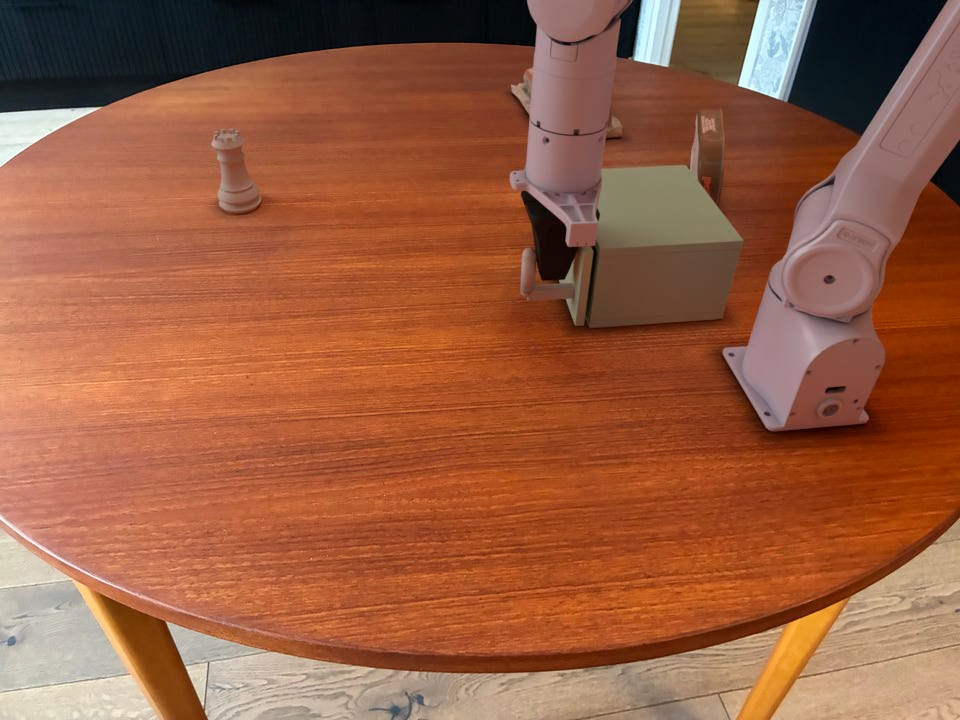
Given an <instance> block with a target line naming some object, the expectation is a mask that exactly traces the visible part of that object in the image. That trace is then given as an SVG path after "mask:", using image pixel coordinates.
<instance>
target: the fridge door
mask: <svg viewBox="0 0 960 720" xmlns="http://www.w3.org/2000/svg"><path fill="white" fill-rule="evenodd" d="M592 259H593V250H592V248H591V246H582V247H579V249H578V251H577V253H576V255H575V257H574V260H573V262H572V265H571V267H570V270H569V272H568V274H567V276H566V278H565V279H564V280H558V282H559V283H544V284H542V283H541V284H536V273H537V262H536V260H537V253H536V251H535V248H533V247H526V248H524V250H523V251H522V254H521V267H520V268H521V270H520V286H519V287H520V288H519V293H520V295H521V296H522V297H524V298H526V300H527V301H528V302H531V301H532V302H534V301H551V300H565V301H566V304H567V307H568V310H569V312H570V315H571V318H572V321H573V324H574V326H575V327H579V326H585V321H586V317H585V313H586V305H587V298H588V290H589V282H590V275H591V267H592Z"/></svg>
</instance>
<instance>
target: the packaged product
mask: <svg viewBox="0 0 960 720" xmlns="http://www.w3.org/2000/svg"><path fill="white" fill-rule="evenodd" d="M532 77H533V66H531V67H529V68H527V69H526V70H525V71H524V73H523V76H522V78H523V82H519V83H518V84H516V85H515V84H510V87H511V93H512V94H513V95H514V96H515V97H517V99H518V100H519V102H520V103H521V104H522V106H523V107H524V109H525V111H526V112H527V114H528V115H529V116H530V104H531V90H532ZM612 110H613V109H612V104H610V111H609V118H608V126H607V133H606V139H607V138H619V137H623V130H624V124H621V121H620V120H619V119H618V118H617V117H616V116H615V115H614V114H613V111H612Z"/></svg>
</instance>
